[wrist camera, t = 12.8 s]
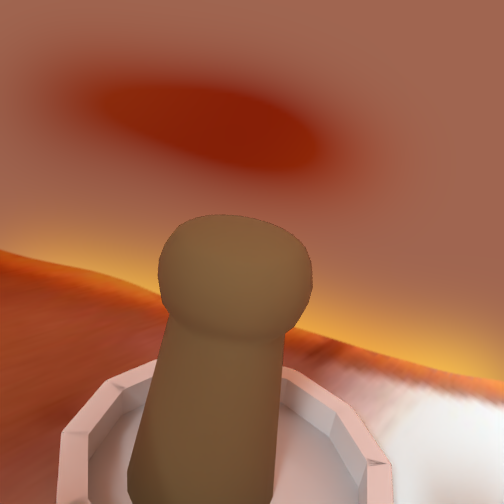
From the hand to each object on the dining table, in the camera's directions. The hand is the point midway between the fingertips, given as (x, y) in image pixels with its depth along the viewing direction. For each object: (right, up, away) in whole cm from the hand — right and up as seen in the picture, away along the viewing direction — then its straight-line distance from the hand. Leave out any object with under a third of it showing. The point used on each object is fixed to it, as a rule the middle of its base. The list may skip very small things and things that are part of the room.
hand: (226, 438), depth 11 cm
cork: (-1, -5, +9) cm, 10 cm away
